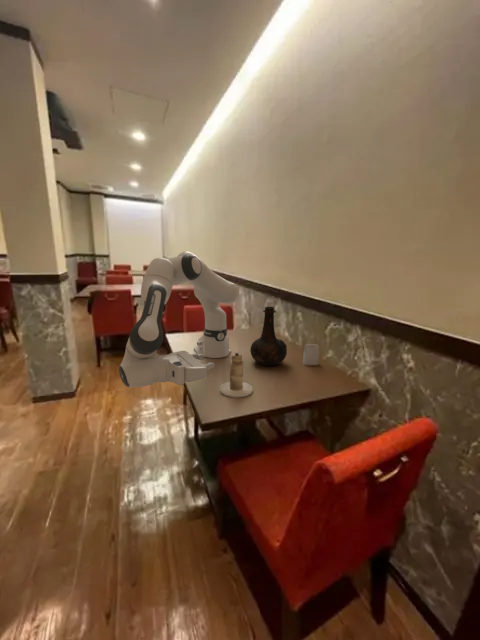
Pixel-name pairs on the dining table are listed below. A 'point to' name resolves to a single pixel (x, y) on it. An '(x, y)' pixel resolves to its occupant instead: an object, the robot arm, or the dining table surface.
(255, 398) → the dining table surface
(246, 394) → the cream plate
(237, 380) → the pepper mill
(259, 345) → the glass bottle
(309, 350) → the white box
